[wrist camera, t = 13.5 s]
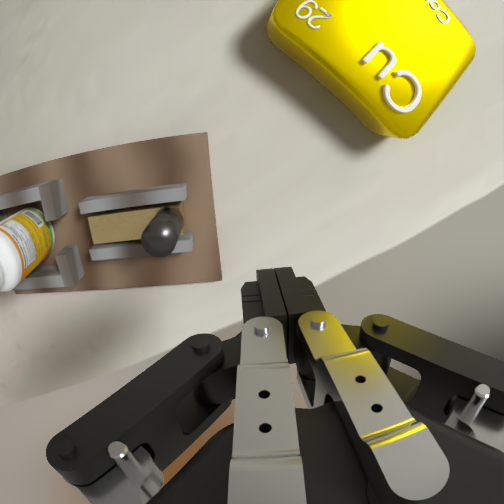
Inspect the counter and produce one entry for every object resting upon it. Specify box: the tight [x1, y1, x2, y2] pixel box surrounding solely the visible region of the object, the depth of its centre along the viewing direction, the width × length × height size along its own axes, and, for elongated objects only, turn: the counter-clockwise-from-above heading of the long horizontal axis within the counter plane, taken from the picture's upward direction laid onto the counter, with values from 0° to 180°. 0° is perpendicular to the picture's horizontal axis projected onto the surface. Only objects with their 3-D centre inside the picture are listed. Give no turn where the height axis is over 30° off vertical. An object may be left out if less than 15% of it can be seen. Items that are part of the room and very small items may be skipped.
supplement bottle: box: [0, 207, 55, 292], centre depth 20 cm, size 5×5×10 cm
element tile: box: [266, 0, 475, 139], centre depth 19 cm, size 15×15×5 cm
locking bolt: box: [88, 201, 186, 258], centre depth 22 cm, size 8×2×6 cm, turn 94°
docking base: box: [0, 132, 222, 294], centre depth 24 cm, size 24×13×3 cm, turn 94°
